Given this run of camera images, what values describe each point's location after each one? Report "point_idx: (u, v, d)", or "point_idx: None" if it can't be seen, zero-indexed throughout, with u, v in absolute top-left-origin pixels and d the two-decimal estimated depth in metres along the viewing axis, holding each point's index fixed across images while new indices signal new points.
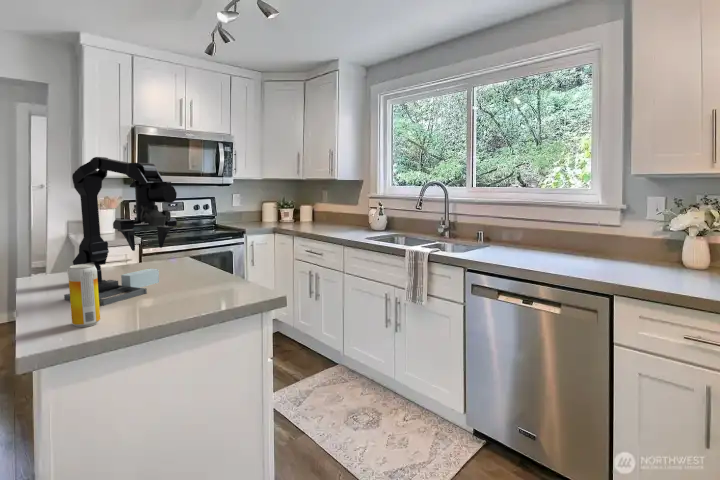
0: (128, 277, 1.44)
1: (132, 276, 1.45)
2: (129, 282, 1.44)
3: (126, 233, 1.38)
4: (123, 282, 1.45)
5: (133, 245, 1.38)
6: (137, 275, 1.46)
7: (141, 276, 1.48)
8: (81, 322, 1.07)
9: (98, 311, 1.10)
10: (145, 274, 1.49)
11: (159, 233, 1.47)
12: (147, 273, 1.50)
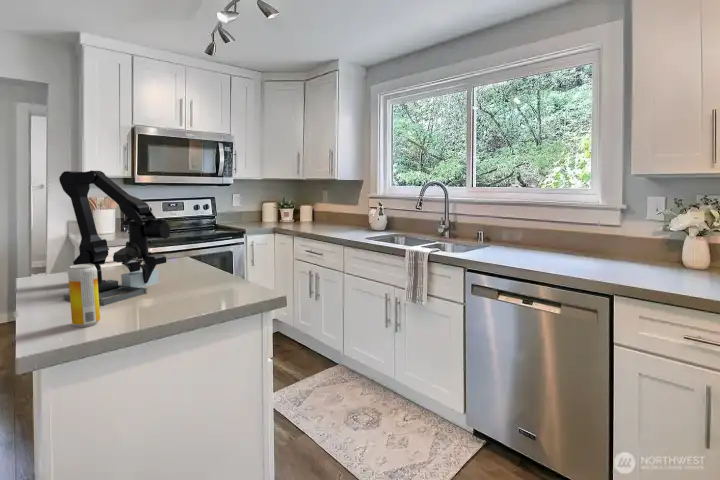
0: (128, 277, 1.44)
1: (132, 276, 1.45)
2: (129, 282, 1.44)
3: None
4: (123, 282, 1.45)
5: None
6: (137, 275, 1.46)
7: (141, 276, 1.48)
8: (81, 322, 1.07)
9: (98, 311, 1.10)
10: None
11: None
12: None
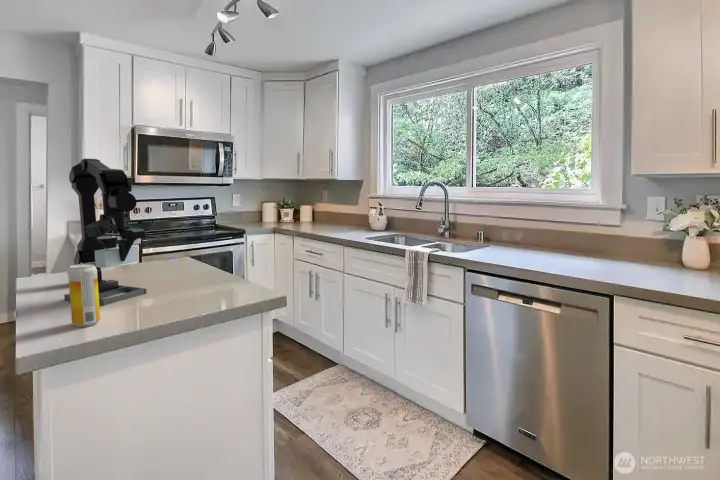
0: (102, 253, 1.28)
1: (107, 252, 1.29)
2: (104, 258, 1.28)
3: None
4: (97, 259, 1.29)
5: None
6: (113, 251, 1.31)
7: (117, 252, 1.32)
8: (81, 322, 1.07)
9: (98, 311, 1.10)
10: None
11: None
12: None
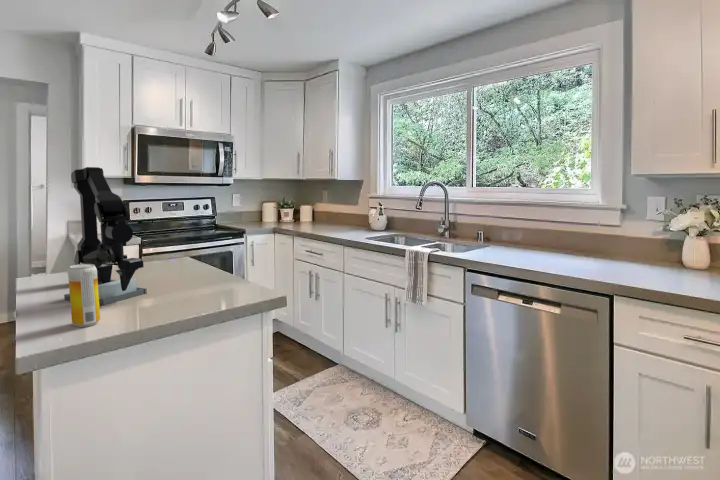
0: (100, 289, 1.28)
1: (104, 288, 1.29)
2: (101, 294, 1.28)
3: None
4: None
5: (103, 283, 1.34)
6: (110, 286, 1.30)
7: (115, 287, 1.32)
8: (81, 322, 1.07)
9: (98, 311, 1.10)
10: (120, 285, 1.34)
11: None
12: None
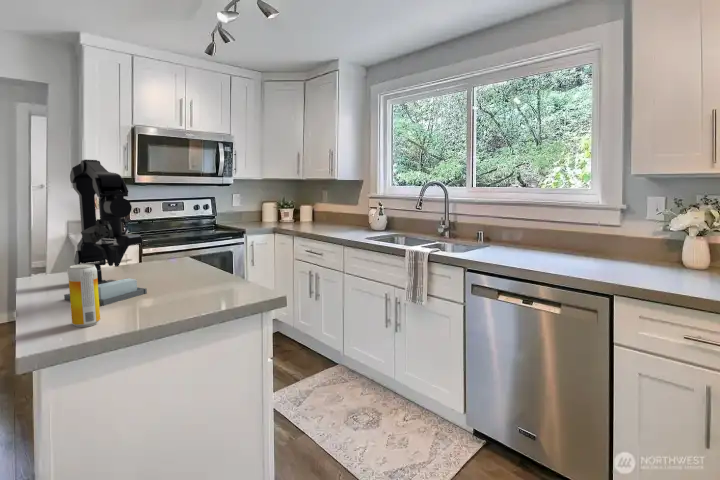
0: (99, 289, 1.28)
1: (103, 288, 1.29)
2: (100, 294, 1.28)
3: None
4: None
5: (107, 260, 1.33)
6: (110, 286, 1.30)
7: (115, 287, 1.32)
8: (81, 322, 1.07)
9: (98, 311, 1.10)
10: (120, 285, 1.33)
11: None
12: (122, 284, 1.34)
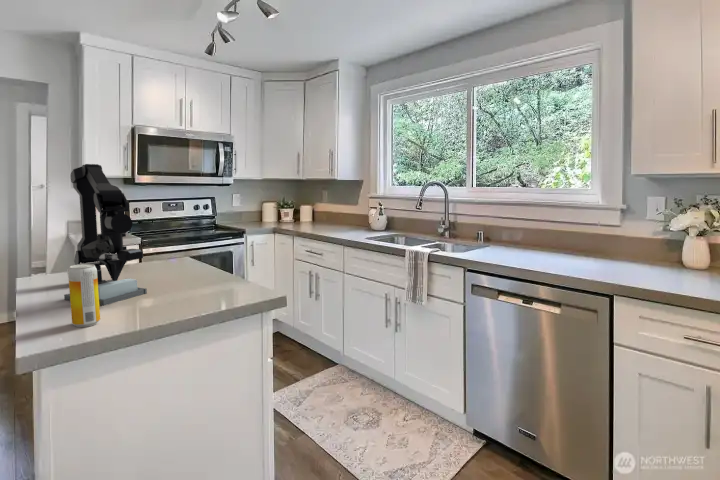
0: (98, 289, 1.28)
1: (102, 288, 1.29)
2: (99, 294, 1.28)
3: None
4: None
5: (110, 275, 1.33)
6: (109, 286, 1.30)
7: (114, 287, 1.32)
8: (81, 322, 1.07)
9: (98, 311, 1.10)
10: (119, 285, 1.33)
11: None
12: (122, 284, 1.34)
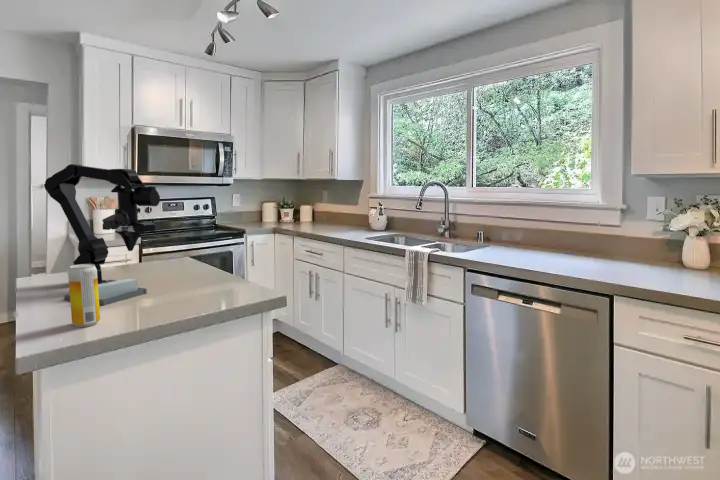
0: None
1: (101, 287, 1.29)
2: None
3: None
4: None
5: (126, 245, 1.49)
6: (108, 286, 1.30)
7: (113, 287, 1.32)
8: (81, 322, 1.07)
9: (98, 311, 1.10)
10: (119, 285, 1.33)
11: None
12: (122, 284, 1.34)
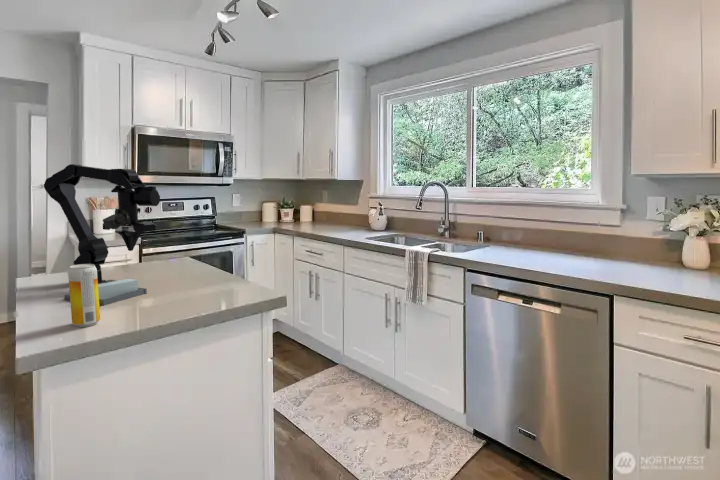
0: None
1: (100, 287, 1.29)
2: None
3: None
4: None
5: (126, 245, 1.49)
6: (107, 286, 1.30)
7: (113, 287, 1.32)
8: (81, 322, 1.07)
9: (98, 311, 1.10)
10: (119, 285, 1.33)
11: None
12: (122, 284, 1.34)
